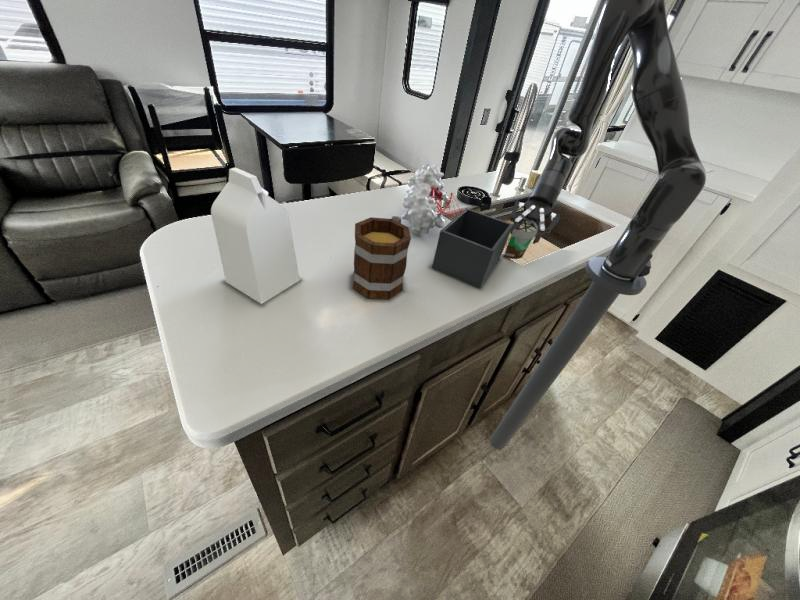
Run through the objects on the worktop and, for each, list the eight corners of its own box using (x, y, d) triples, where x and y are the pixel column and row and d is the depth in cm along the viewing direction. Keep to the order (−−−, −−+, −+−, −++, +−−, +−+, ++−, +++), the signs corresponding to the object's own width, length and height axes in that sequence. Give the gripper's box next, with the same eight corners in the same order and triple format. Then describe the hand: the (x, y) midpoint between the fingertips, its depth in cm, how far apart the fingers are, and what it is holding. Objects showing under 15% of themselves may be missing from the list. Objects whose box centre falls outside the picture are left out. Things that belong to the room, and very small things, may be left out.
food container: (521, 266, 97) (534, 237, 90) (501, 258, 99) (513, 229, 93) (531, 249, 105) (543, 222, 99) (513, 243, 107) (524, 215, 101)
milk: (226, 282, 75) (193, 170, 58) (265, 261, 83) (247, 157, 66) (261, 304, 71) (237, 190, 54) (299, 280, 79) (289, 174, 62)
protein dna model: (449, 246, 115) (436, 184, 120) (476, 222, 98) (459, 151, 103) (397, 248, 108) (386, 182, 113) (417, 222, 91) (402, 147, 97)
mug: (394, 306, 76) (402, 253, 66) (342, 290, 78) (342, 236, 68) (415, 264, 91) (424, 215, 81) (371, 251, 93) (374, 202, 83)
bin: (499, 258, 99) (513, 224, 91) (479, 288, 86) (493, 251, 78) (456, 241, 103) (466, 207, 96) (431, 267, 90) (440, 230, 83)
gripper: (525, 176, 96) (500, 226, 96) (574, 191, 92) (548, 243, 91) (522, 188, 103) (500, 235, 103) (568, 203, 99) (544, 251, 98)
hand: (523, 238), depth 97 cm, fingers closed on food container, 6 cm apart
